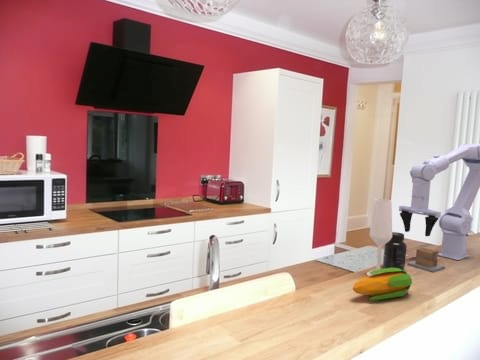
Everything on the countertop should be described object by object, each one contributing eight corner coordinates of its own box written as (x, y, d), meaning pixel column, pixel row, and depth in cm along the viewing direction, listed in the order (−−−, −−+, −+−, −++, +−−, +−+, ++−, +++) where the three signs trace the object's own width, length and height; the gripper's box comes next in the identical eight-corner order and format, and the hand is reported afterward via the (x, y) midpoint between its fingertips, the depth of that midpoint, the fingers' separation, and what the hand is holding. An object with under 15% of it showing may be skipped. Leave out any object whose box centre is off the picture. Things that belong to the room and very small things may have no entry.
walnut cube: (422, 261, 135) (423, 247, 134) (436, 265, 131) (438, 251, 131) (415, 263, 132) (416, 249, 131) (429, 267, 128) (431, 253, 127)
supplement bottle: (378, 266, 130) (380, 231, 129) (393, 264, 133) (395, 230, 131) (394, 272, 124) (397, 236, 122) (409, 270, 126) (412, 235, 125)
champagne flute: (381, 280, 116) (388, 202, 114) (362, 274, 121) (367, 199, 119) (393, 276, 120) (399, 201, 118) (373, 270, 125) (379, 198, 123)
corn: (420, 269, 104) (365, 277, 95) (419, 296, 104) (364, 307, 96) (398, 262, 111) (344, 270, 102) (397, 288, 111) (344, 298, 102)
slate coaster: (418, 261, 138) (419, 259, 137) (444, 268, 130) (444, 266, 130) (407, 264, 133) (407, 262, 133) (433, 272, 126) (433, 270, 125)
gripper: (395, 194, 142) (392, 230, 143) (435, 200, 130) (431, 239, 132) (405, 193, 146) (402, 228, 147) (444, 199, 135) (441, 236, 136)
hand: (417, 233), depth 140 cm, fingers open, 7 cm apart
